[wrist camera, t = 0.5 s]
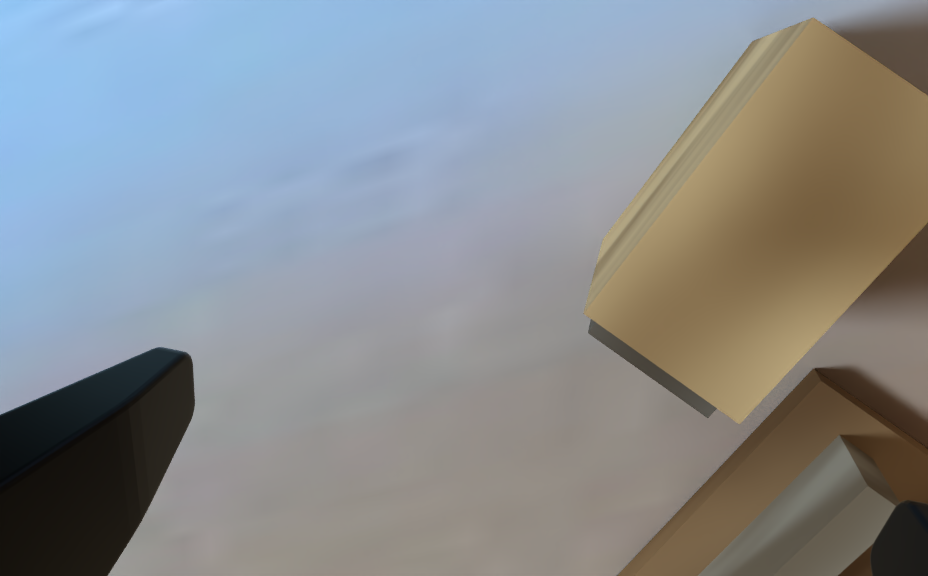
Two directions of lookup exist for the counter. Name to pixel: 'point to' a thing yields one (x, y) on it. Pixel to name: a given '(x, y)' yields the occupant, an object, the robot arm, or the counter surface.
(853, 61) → the oak rail end
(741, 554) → the slot board
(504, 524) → the counter surface
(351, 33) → the counter surface
